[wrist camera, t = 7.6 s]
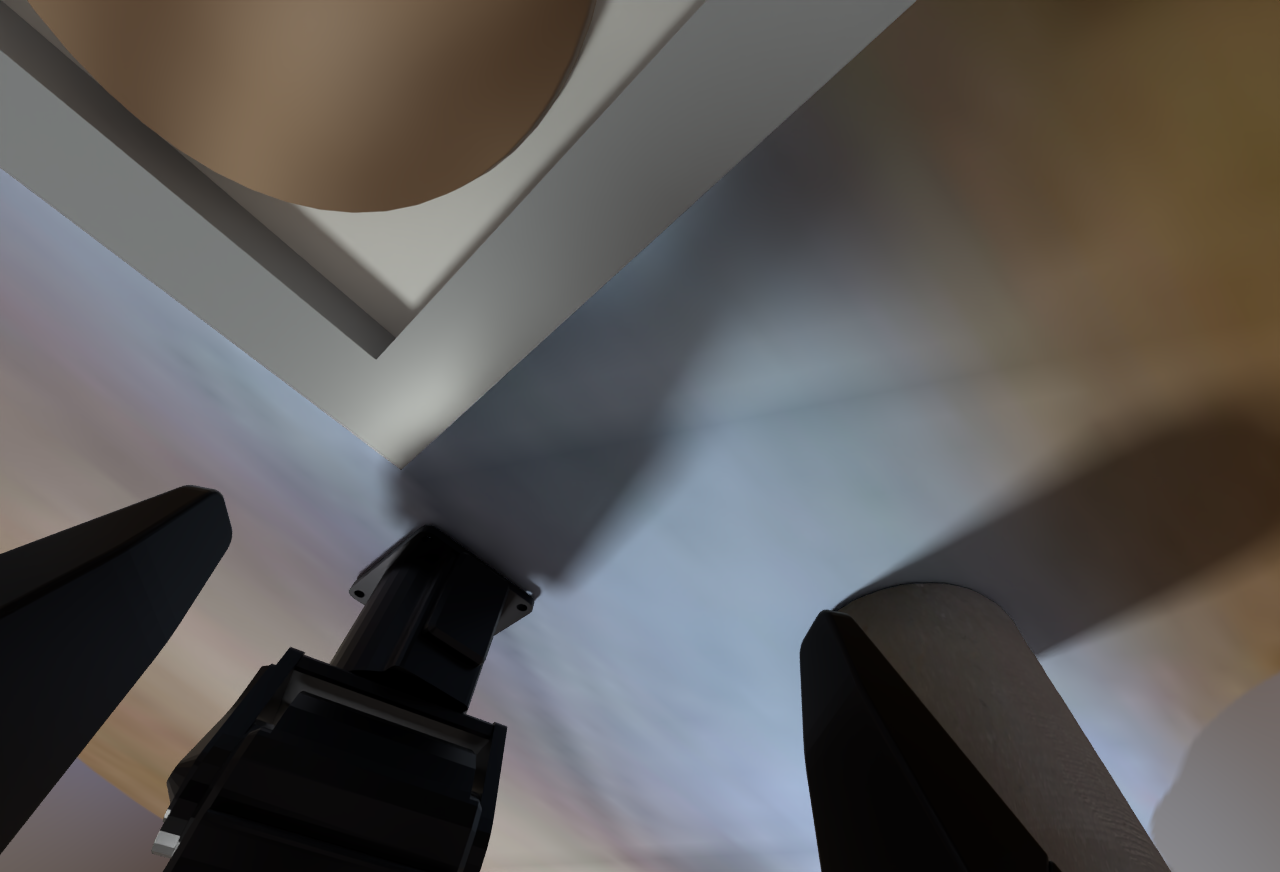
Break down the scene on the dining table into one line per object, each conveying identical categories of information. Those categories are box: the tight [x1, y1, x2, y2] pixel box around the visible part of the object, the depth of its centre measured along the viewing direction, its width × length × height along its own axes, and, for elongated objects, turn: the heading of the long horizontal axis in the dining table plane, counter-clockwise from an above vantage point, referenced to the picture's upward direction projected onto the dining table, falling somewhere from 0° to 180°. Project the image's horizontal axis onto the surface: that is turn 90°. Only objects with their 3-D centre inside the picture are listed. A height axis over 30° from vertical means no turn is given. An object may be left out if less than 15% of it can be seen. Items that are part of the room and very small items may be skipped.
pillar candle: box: [837, 583, 1171, 872], centre depth 21 cm, size 10×10×15 cm
